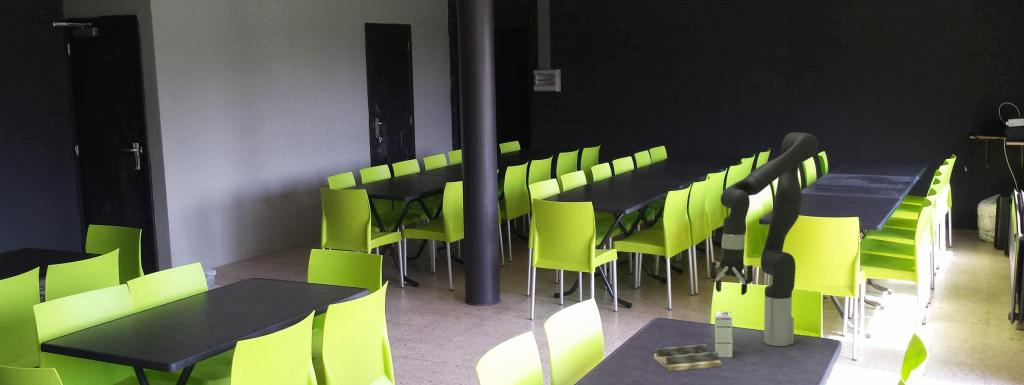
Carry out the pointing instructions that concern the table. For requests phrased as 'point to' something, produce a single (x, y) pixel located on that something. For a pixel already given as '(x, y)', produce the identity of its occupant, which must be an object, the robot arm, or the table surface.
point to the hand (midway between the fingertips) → (730, 293)
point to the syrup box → (723, 334)
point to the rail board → (687, 357)
